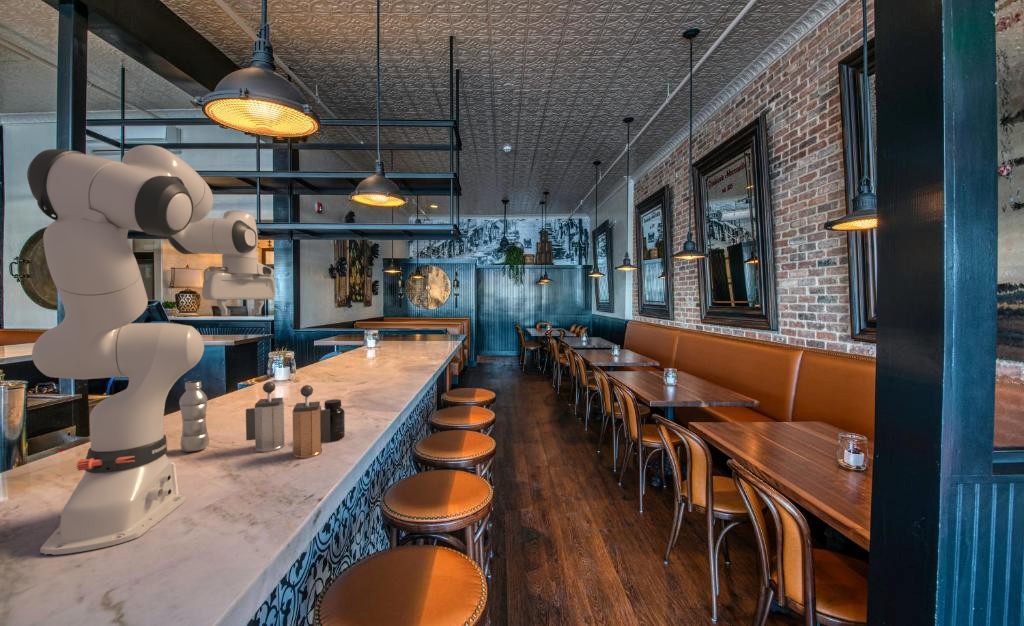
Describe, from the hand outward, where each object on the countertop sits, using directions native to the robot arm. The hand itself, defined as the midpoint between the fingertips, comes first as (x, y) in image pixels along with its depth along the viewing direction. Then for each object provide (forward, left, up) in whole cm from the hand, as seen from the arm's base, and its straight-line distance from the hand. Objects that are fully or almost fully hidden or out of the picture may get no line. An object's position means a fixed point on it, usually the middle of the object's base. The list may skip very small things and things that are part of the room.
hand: (241, 315), depth 119 cm
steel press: (-4, -6, -39) cm, 40 cm away
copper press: (-13, -20, -39) cm, 46 cm away
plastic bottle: (+1, +13, -39) cm, 41 cm away
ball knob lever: (-13, -18, -34) cm, 41 cm away
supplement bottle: (-2, -24, -40) cm, 46 cm away
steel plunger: (-4, -7, -34) cm, 35 cm away
